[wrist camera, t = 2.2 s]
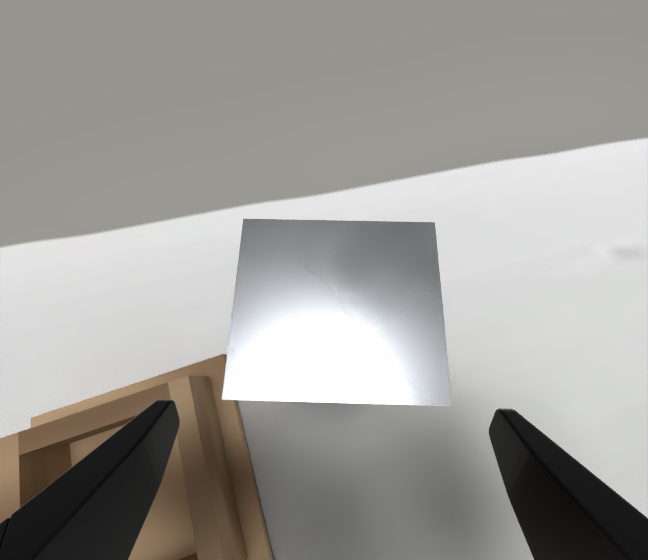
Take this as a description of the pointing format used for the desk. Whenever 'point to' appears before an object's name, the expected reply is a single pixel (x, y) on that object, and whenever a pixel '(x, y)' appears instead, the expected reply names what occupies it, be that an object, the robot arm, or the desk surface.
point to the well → (181, 471)
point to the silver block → (338, 314)
